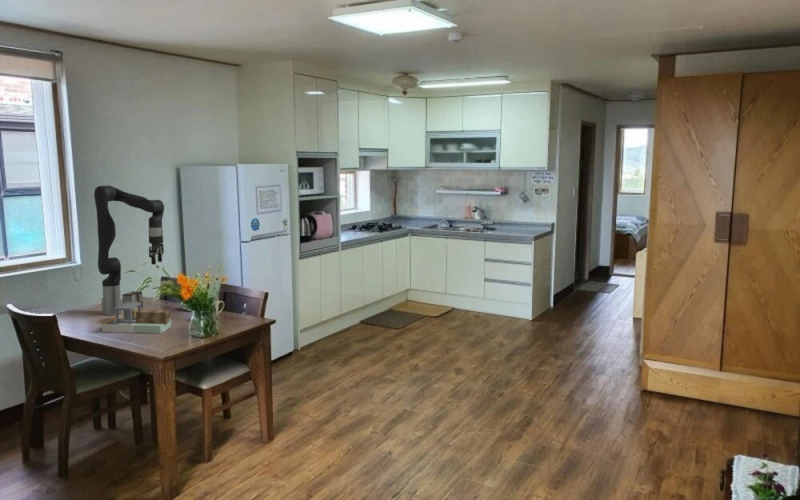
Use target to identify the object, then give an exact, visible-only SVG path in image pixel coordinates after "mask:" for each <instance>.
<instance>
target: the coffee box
mask: <svg viewBox="0 0 800 500" xmlns="http://www.w3.org/2000/svg"><path fill="white" fill-rule="evenodd" d="M121 296H122V304H124V303H126V302H135V303H141V310H144V306H143V305H144V304H143V292H142V291H130V292H126V293H123V294H122V295H121ZM137 311H138V306H137V307H135V308H133V309H132V310H131V312H132V317H136V312H137ZM122 313H123V315H122V316H123V318H124V317H126V310H122ZM128 316H129V310H128Z"/></svg>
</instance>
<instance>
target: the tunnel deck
mask: <svg viewBox="0 0 800 500" xmlns="http://www.w3.org/2000/svg"><path fill="white" fill-rule="evenodd" d="M137 306H138V311H139V310H141V303H135V302H126V303H124V304H123V303H121V305H120V306H118V307H116V308H115V312H116V315H115V317H113V318H110V319H109V320H107V321H105V322H103V323H102V324H101V330H102V331H101V332H102V333H126V332H127V333H130V334H131V333H132V334H133V333H135V334H162V333H163V332H165V331H167V330H168V329H170V328H171V327H172V319H171V318H169V322H168V323H166V324H158V323H136V317H132V312H131V310H132V309H133V308H135V307H137ZM118 310H121V311H123V310H126V317H124V316H123V317H119V315H120V314H118ZM128 310H129V316H128Z"/></svg>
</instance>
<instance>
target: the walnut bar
mask: <svg viewBox="0 0 800 500" xmlns="http://www.w3.org/2000/svg"><path fill="white" fill-rule="evenodd" d="M169 319H170V310H155V309H154V310H153V309H152V310H151V309H150V310H149V309H143V310H139V311H137V312H136V323H158V324H166V323H168V322H169Z"/></svg>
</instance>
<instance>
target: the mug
mask: <svg viewBox="0 0 800 500" xmlns="http://www.w3.org/2000/svg"><path fill="white" fill-rule="evenodd" d="M215 298H216V297H215ZM220 303H222V307H221V309H220V310H219V308H220V307H219V305H220ZM215 305H216V316H217V317H218V315H219V314H220V313H221V312H223V310H224V308H225V302H224V301H222V300H220V299H219V298H216V303H215Z"/></svg>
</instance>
